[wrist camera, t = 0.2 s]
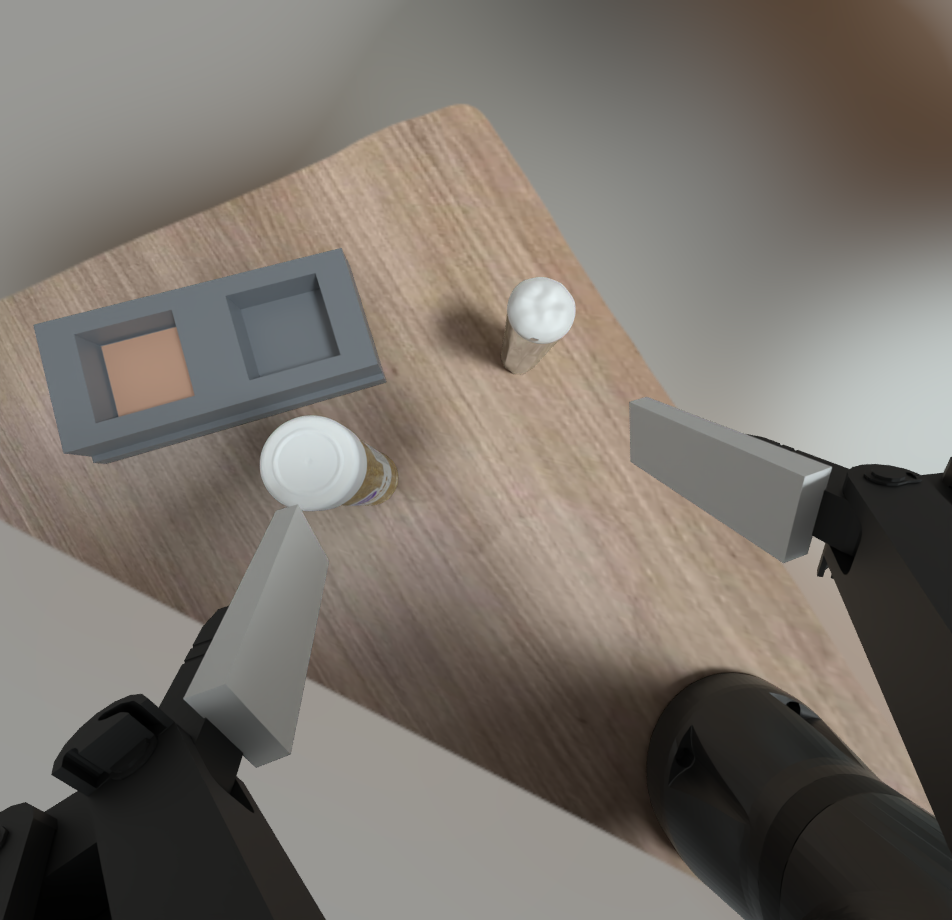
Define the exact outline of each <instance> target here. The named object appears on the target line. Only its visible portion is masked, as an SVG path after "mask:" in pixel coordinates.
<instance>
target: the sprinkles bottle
mask: <svg viewBox="0 0 952 920" xmlns="http://www.w3.org/2000/svg"><path fill="white" fill-rule="evenodd" d="M260 473H261V478H262V480H263V483H264V485H265V487H266V489H267V490H268V492H269V493H270V494H271V495H272V496H273V497H274V498H275V499H276V500H277V501H278V502H280V503H281V504H283V505H285V506H287V507H290V506H293V505H296V504H298V505H299V507H300V509H301V510H302V511H322V510H329V509H333V508H336V507H338V506H340V505H343V506H359V505H367V506H369V505H377V504H380V503H383V502H384V501H386V500H388V499H389V498H390V497H391V495H392V494H393V493H394V491H395V489H396V487H397V484H398V472H397V468H396V466H395V464H394V462H393V461H392V460H391V459H390V458H389V457H388V456H386V455H385V454H383V453H380V452H379V451H377V450H376V449H374V448H372V447H371V446H369V445H368V444H366V443H365V442H363V441H362V440H360V439H359V438H358V437H357V436H356V435H355V434H354V433H353V432H352V431H351V430H349V429H348V428H346V427H345V426H343V425H342V424H340V423H338V422H336V421H334V420H332V419H329V418H326V417H322V416H315V415H309V416H301V417H297V418H294V419H291V420H289V421H287V422H285V423H283V424H282V425H281V426H279V427H278V428H277V429H276V430H275V431H274V432H273V433H272V434H271V435H270V436H269V438H268V439H267V441H266V442H265V445H264V447H263V449H262V452H261V457H260Z"/></svg>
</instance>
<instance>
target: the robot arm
mask: <svg viewBox="0 0 952 920" xmlns="http://www.w3.org/2000/svg"><path fill="white" fill-rule="evenodd" d="M629 405H630V461H631V462H632V463H633V464H635V465H636V466H638V467H639V468H641V469H642V470H644V471H645V472H647V473H648V474H650V475H651V476H653V477H654V478H656V479H657V480H659V481H660V482H662V483H663V484H665V485H666V486H668V487H669V488H671V489H672V490H674V491H675V492H677V493H678V494H680V495H681V496H683V497H684V498H686V499H687V500H689V501H690V502H692V503H693V504H695V505H696V506H698V507H699V508H701V509H703V510H704V511H706V512H707V513H709V514H710V515H712V516H713V517H715V518H716V519H718V520H719V521H721V522H722V523H724V524H725V525H727V526H728V527H730V528H731V529H733V530H734V531H736V532H737V533H739V534H740V535H742V536H743V537H745V538H746V539H748V540H749V541H751V542H752V543H754V544H755V545H757V546H758V547H760V548H761V549H763V550H764V551H766V552H767V553H769V554H770V555H772V556H773V557H775V558H776V559H778V560H779V561H781V562H782V563H785V562H788V561H791V560H793V559H796V558H798V557H801V556H804V555H806V554H807V553H808V550H809V547H810V543H811V539H812V536H814V537H816V538H818V539H820V540H821V541H823V542H825V546H824V550H823V553H822V556H821V560H820V563H819V566H818V569H817V576H819V577H823V575H824V572H825V570H826V569H827V568H829V569H830V571H831V573H832V575H831V578H832V579H834V580H835V583H836V585H837V587H838V590H839V592H840V595H841V597H842V599H843V602H844V604H845V606H846V608H847V611H848V613H849V616H850V618H851V620H852V623H853V625H854V627H855V630H856V632H857V634H858V637H859V639H860V641H861V644H862V646H863V648H864V651H865V653H866V655H867V658H868V660H869V662H870V665H871V667H872V669H873V672H874V674H875V677H876V679H877V681H878V684H879V686H880V688H881V690H882V693H883V695H884V697H885V700H886V702H887V705H888V707H889V709H890V712H891V714H892V716H893V719H894V721H895V723H896V725H897V728H898V730H899V733H900V735H901V737H902V740H903V742H904V744H905V747H906V749H907V751H908V754H909V756H910V758H911V761H912V763H913V766H914V768H915V770H916V773H917V775H918V777H919V780H920V782H921V784H922V787H923V789H924V791H925V794H926V796H927V798H928V801H929V803H930V805H931V808H932V810H933V812H934V815H935V816H933V815H932V814H930V813H929V812H927V811H926V810H924V809H923V808H921V807H920V806H918V805H916V804H915V803H913V802H912V801H910V800H909V799H907V798H906V797H904V796H903V795H901V794H900V793H898V792H897V791H895V790H894V789H892V788H891V787H889V786H888V785H886V784H885V783H884V782H882V781H881V780H880V779H879V778H878V777H877V776H876V775H875V774H874V773H873V772H872V771H871V770H870V769H869V768H868V767H867V766H866V765H865V764H864V763H863V762H862V761H861V759H860V758H859V757H858V756H857V755H856V754H855V753H854V752H853V751H852V750H851V749H850V748H849V747H848V746H847V745H846V744H845V743H844V742H843V741H842V740H841V739H840V738H839V737H838V736H837V735H836V734H835V733H834V732H833V731H832V730H831V729H830V728H829V727H828V726H827V725H826V724H825V722H824V721H823V720H822V719H821V718H820V717H819V716H818V715H817V714H815V713H814V712H813V711H812V710H811V709H810V708H809V707H807V706H806V705H805V704H804V703H802V702H801V701H799V700H798V699H797V698H795V697H793V696H792V695H790V694H788V693H787V692H785V691H783V690H781V689H780V688H778V687H776V686H775V685H773V684H771V683H769V682H767V681H765V680H763V679H761V678H758V677H755V676H751V675H747V674H741V673H723V674H716V675H712V676H709V677H706V678H703V679H701V680H699V681H696V682H695V683H693V684H691V685H690V686H688V687H687V688H685V689H684V690H683V691H681V692H680V693H679V694H678V695H677V696H676V697H675V698H674V699H673V700H672V701H671V702H670V704H669V705H668V706H667V707H666V709H665V710H664V712H663V713H662V715H661V717H660V718H659V720H658V722H657V724H656V727H655V729H654V732H653V734H652V738H651V741H650V745H649V750H648V756H647V785H648V791H649V796H650V800H651V804H652V807H653V810H654V812H655V815H656V817H657V819H658V821H659V823H660V825H661V827H662V829H663V830H664V832H665V833H666V835H667V836H668V838H669V840H670V841H671V843H672V844H673V846H674V847H675V849H676V850H677V852H678V854H679V855H680V857H681V858H682V859H683V861H684V862H685V863H686V865H687V866H688V867H689V868H690V869H691V871H692V872H693V873H694V874H695V875H696V876H697V877H698V878H699V879H700V880H701V881H702V882H703V883H704V884H705V885H707V886H708V887H709V888H710V889H711V890H712V891H713V892H714V893H716V894H717V895H718V896H719V897H720V898H721V899H722V900H723V901H724V902H726V903H727V904H728V905H729V906H730V907H731V908H732V909H733V910H735V911H736V912H737V913H738V914H739V915H740V916H741V917H742V918H743V919H745V920H952V457H950V460H949V462H948V464H947V466H946V469H945V471H944V473H937V474H927V475H919V474H917V473H915V472H912V471H910V470H907V469H904V468H899V467H895V466H890V465H879V464H866V465H859V466H855V467H852V468H851V469H848V468H845V467H843V466H840V465H837V464H834V463H831V462H829V461H826V460H824V459H821V458H818V457H815V456H813V455H810V454H807V453H804V452H802V451H799V450H796V451H795V450H794V448H791V447H788V446H785V445H780V443H777V442H775V441H772V440H769V439H767V438H763V437H759V436H753V435H748V434H744V433H741V432H738V431H736V430H733V429H730V428H728V427H725V426H722V425H720V424H717V423H715V422H712V421H709V420H707V419H704V418H701V417H699V416H696V415H693V414H691V413H688V412H685V411H683V410H680V409H678V408H675V407H672V406H670V405H667V404H664V403H662V402H659V401H656V400H654V399H651V398H649V397H644V398H641V399H638V400H634V401H631V402H629ZM328 565H329V560H328V558H327V556H326V554H325V552H324V551H323V549H322V547H321V545H320V543H319V541H318V540H317V538H316V536H315V534H314V532H313V530H312V529H311V527H310V525H309V523H308V521H307V519H306V518H305V516H304V514H303V512H302V510H301V509H300V507H299V505H298V504H296V505H293V506H290V507H287V508H283V509H280V510H277V511H276V512H275V514H274V516H273V518H272V520H271V522H270V524H269V526H268V528H267V530H266V532H265V534H264V536H263V539H262V541H261V543H260V545H259V547H258V549H257V551H256V553H255V555H254V557H253V559H252V561H251V563H250V565H249V567H248V569H247V571H246V573H245V575H244V577H243V579H242V581H241V583H240V585H239V587H238V589H237V591H236V593H235V595H234V597H233V599H232V601H231V603H230V605H229V606H227V607H224V608H221V609H218V610H217V611H216V613H215V614H214V615H213V616H212V617H211V618H210V619H209V620H208V621H207V623H206V624H205V625H204V626H203V627H202V629H201V631H200V633H199V634H198V637H197V638H196V640H195V642H194V644H193V648H192V649H190V651H189V653H188V655H187V656H186V659H185V660H184V661H185V664H182V666H181V667H180V669H179V671H178V673H177V675H176V677H175V679H174V680H173V682H172V684H171V686H170V688H169V690H168V692H167V693H166V695H165V697H164V699H163V701H162V703H161V704H160V706H159V708H158V707H157V706H156V705H155V704H154V703H153V702H151V701H150V700H149V699H148V698H146V697H145V696H144V695H142V694H137V695H129V696H127V697H125V698H122V699H120V700H118V701H115V702H114V703H112V704H110V705H109V706H107V707H106V708H104V709H103V710H101V711H100V712H98V713H97V714H96V715H94V716H93V717H92V718H91V719H90V720H89V721H88V722H86V723H85V724H84V725H83V726H82V727H81V728H79V730H78V731H77V732H76V733H75V734H74V735H73V736H72V737H71V738H70V740H69V741H68V742H67V743H66V744H65V745H64V747H63V748H62V750H61V752H60V753H59V755H58V757H57V758H56V760H55V761H54V765H53V770H52V775H53V776H54V777H56V778H58V779H59V780H61V781H63V782H64V783H66V784H68V785H69V786H71V787H73V788H74V789H76V790H77V792H75V793H74V794H72V795H71V796H69V797H67V798H66V799H64V800H63V801H61V802H59V803H58V804H56V805H55V806H53V807H52V808H50V809H48V810H47V811H45V812H43V811H41V810H39V809H37V808H35V807H34V806H32V805H30V804H28V803H26V802H25V803H21V804H17V805H13V806H10V807H9V808H7V809H5V810H4V811H2V812H0V920H326V919H325V918H324V916H323V914H322V913H321V911H320V909H319V908H318V906H317V904H316V903H315V901H314V899H313V898H312V896H311V894H310V893H309V891H308V889H307V888H306V886H305V884H304V883H303V881H302V879H301V878H300V876H299V874H298V873H297V871H296V869H295V868H294V866H293V864H292V863H291V861H290V859H289V858H288V856H287V854H286V853H285V851H284V849H283V848H282V846H281V844H280V843H279V841H278V840H277V838H276V836H275V834H274V833H273V831H272V829H271V828H270V826H269V824H268V823H267V821H266V819H265V818H264V816H263V814H262V813H261V811H260V810H259V808H258V806H257V804H256V803H255V801H254V799H253V798H252V796H251V794H250V793H249V791H248V789H247V788H246V786H245V784H244V783H243V782H242V781H241V780H240V779H239V778H238V777H237V776H236V775H237V772H238V768H239V765H240V762H241V759H242V756H244V757H245V758H246V759H247V760H248V761H249V762H250V763H251V764H253V765H254V766H255V767H256V768H257V767H259V766H262V765H265V764H267V763H269V762H272V761H275V760H277V759H280V758H283V757H285V756H288V755H290V754H291V750H292V745H293V740H294V735H295V730H296V724H297V719H298V714H299V710H300V705H301V700H302V695H303V690H304V685H305V680H306V675H307V670H308V665H309V660H310V655H311V650H312V645H313V640H314V635H315V630H316V625H317V620H318V615H319V610H320V605H321V600H322V595H323V590H324V585H325V580H326V575H327V570H328Z"/></svg>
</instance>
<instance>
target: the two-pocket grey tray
mask: <svg viewBox="0 0 952 920" xmlns="http://www.w3.org/2000/svg"><path fill="white" fill-rule="evenodd" d="M34 330H35V334H36V338H37V342H38V347H39V351H40V355H41V359H42V364H43V368H44V372H45V376H46V381H47V385H48V389H49V393H50V398H51V402H52V406H53V410H54V415H55V419H56V423H57V427H58V432H59V436H60V440H61V444H62V449H63V453H65V454H74V455H82V456H91V457H92V459H93V463H101V464H107V463H111V462H114V461H118V460H121V459H124V458H128V457H131V456H135V455H138V454H142V453H145V452H149V451H152V450H155V449H159V448H162V447H166V446H169V445H173V444H176V443H180V442H183V441H186V440H190V439H193V438H197V437H200V436H204V435H207V434H210V433H214V432H217V431H221V430H224V429H228V428H231V427H235V426H238V425H241V424H245V423H248V422H252V421H255V420H259V419H262V418H265V417H269V416H272V415H276V414H279V413H283V412H286V411H290V410H293V409H296V408H300V407H303V406H307V405H310V404H314V403H317V402H321V401H324V400H327V399H331V398H334V397H338V396H341V395H345V394H348V393H351V392H355V391H358V390H362V389H365V388H369V387H372V386H376V385H379V384H382V383H386V379H385V376H384V373H383V369H382V366H381V363H380V360H379V357H378V353H377V350H376V347H375V344H374V341H373V338H372V334H371V331H370V328H369V325H368V322H367V319H366V315H365V312H364V309H363V306H362V303H361V299H360V296H359V293H358V290H357V287H356V284H355V280H354V277H353V274H352V271H351V268H350V265H349V263H348V260H347V259H346V257H345V255H344V253H343V251H342V248H339V249H335V250H331V251H327V252H323V253H319V254H315V255H311V256H307V257H303V258H299V259H295V260H291V261H287V262H283V263H279V264H275V265H271V266H267V267H263V268H259V269H255V270H251V271H247V272H243V273H239V274H235V275H231V276H227V277H223V278H219V279H215V280H211V281H207V282H203V283H199V284H195V285H191V286H187V287H183V288H179V289H175V290H171V291H167V292H163V293H159V294H155V295H151V296H147V297H143V298H139V299H135V300H131V301H127V302H123V303H119V304H115V305H111V306H107V307H103V308H99V309H95V310H91V311H87V312H83V313H79V314H75V315H71V316H67V317H63V318H59V319H55V320H51V321H47V322H43V323H39V324H35V325H34Z"/></svg>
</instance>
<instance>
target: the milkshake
mask: <svg viewBox="0 0 952 920" xmlns="http://www.w3.org/2000/svg"><path fill="white" fill-rule="evenodd" d="M574 318H575V302H574V299H573V297H572V296H571V294H570V293H569V292H568V291H567V289H566V288H565V287H564V286H563V285H562V284H561V283H560V282H557V281H555V280H552V279H549V278H546V277H536V278H531V279H527V280H524V281H522V282H521V283H519V284H518V285H517V286H516V287H515V288H514V290H513V291H512V293H511V295H510V298H509V301H508V305H507V315H506V325H505V332H504V338H503V344H502V350H501V359H502V362H503V365H504V367H505V368H506V369H507V370H509V371H510V372H512V373H513V374H526V373H527V372H528V371H530V370H531V369H533V368H534V367H535V366H536V365H537V364H538V363H539V362H540V360H541V359H542V358H543V357H544V356H545V355H546V354H547V353H548V352H549V350H550V349H551V348H552V347H553V346H554V345H555V344H556V343H557V342H558V341H559V340H560V339H561V338H562V337H563V336H564V335H565V334H566V333H567V332H568V331H569V330H570V328H571V326H572V324H573V321H574Z"/></svg>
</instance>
